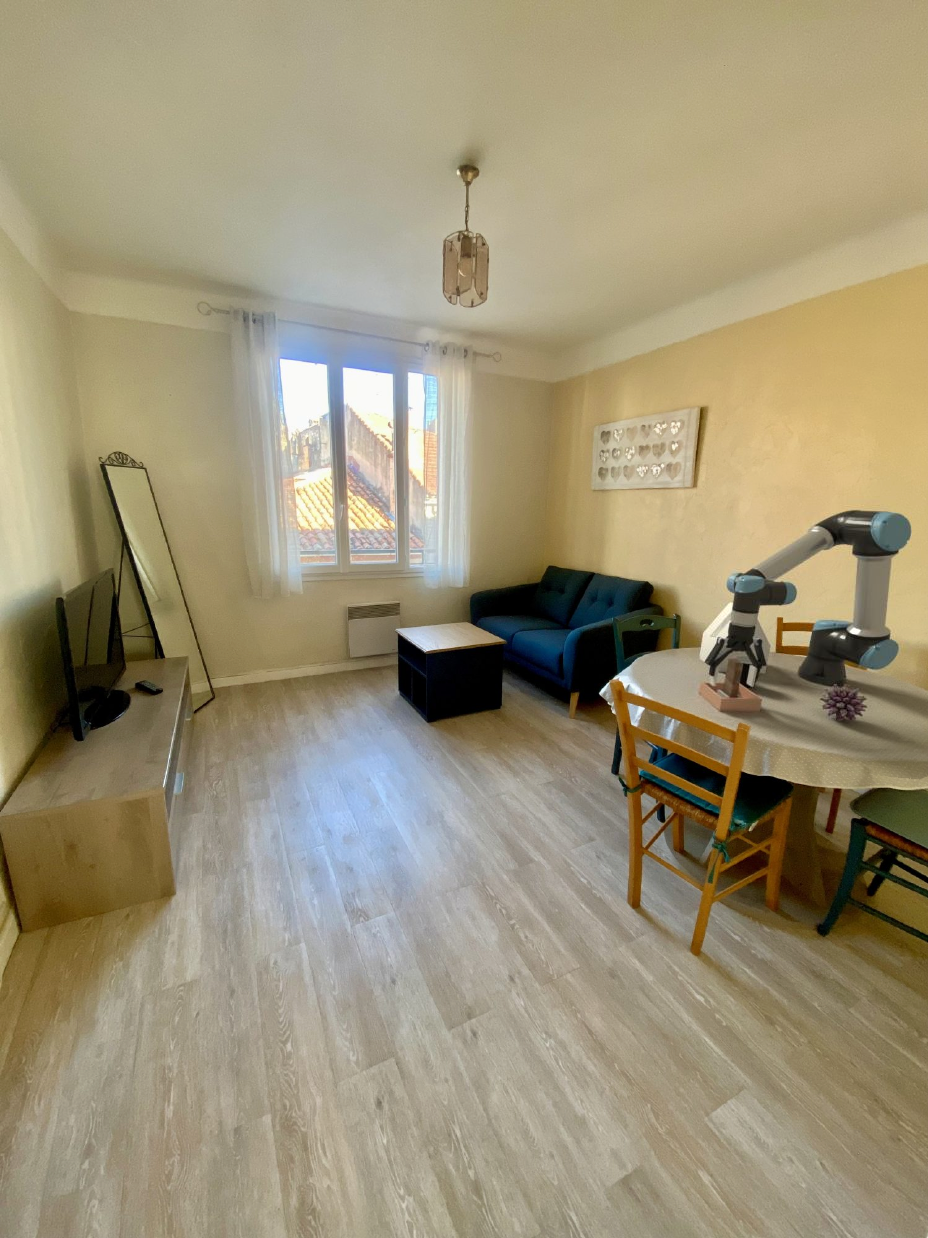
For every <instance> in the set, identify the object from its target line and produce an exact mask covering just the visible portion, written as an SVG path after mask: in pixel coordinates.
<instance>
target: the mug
mask: <svg viewBox="0 0 928 1238" xmlns="http://www.w3.org/2000/svg"><path fill="white" fill-rule="evenodd" d="M734 659H737V660H739V661H740V662H742V663H743V668H742V673H741V678H740V684H741V685H743V686H744V687H746V688H747V689H749V690H750V689H752V688H754V687H751V686H750V685H748V684H747V679H748V674H749V669H750V665H751V666H753V664H752V662H751V661H750V659H749V657H748V656H735V657H734ZM757 660H758V659H757ZM760 674H761V673H760V669H759V672H758V676H757V677H755V682H754V686H755V685H756V683H757V681H758V678H759V675H760Z"/></svg>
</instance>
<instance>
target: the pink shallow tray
mask: <svg viewBox="0 0 928 1238" xmlns="http://www.w3.org/2000/svg"><path fill="white" fill-rule="evenodd" d="M709 682H710V681H707V682H705V681H702V682H700V685H699V692H698V694H699V695H700V696H701V697H702V698H703V699H704V700H706V701H707V702H708V703H709V704H710V706H712V707H714V708H715V709H716V710H717V711H718V712H754V713H755V712H758V713H759V712H760V711H761V708H762V707H761V706H762V701H763V698H762V697H761V696H759V695H757V694H755V692H753V691H752V690H750V689H747V688H746V687H744V686H743V685H741V684H740V683H739V689H738V694H737V698H730V697H729V696H728V695H726V694H725V693H724V692H723V687H724V682H722V681H717V682H716V686H712V685H711V684H710V683H709Z"/></svg>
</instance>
